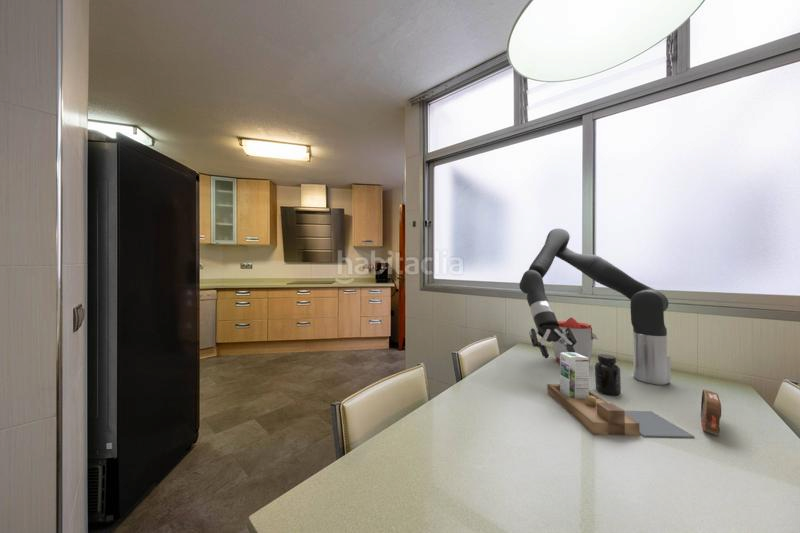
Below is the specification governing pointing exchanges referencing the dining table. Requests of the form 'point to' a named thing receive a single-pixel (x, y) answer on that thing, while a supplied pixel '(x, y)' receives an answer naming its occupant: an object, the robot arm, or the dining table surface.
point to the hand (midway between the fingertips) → (559, 357)
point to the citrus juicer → (581, 335)
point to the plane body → (596, 413)
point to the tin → (710, 412)
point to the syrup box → (574, 375)
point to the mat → (656, 425)
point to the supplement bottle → (607, 376)
